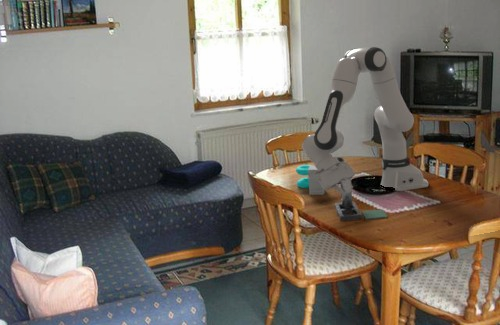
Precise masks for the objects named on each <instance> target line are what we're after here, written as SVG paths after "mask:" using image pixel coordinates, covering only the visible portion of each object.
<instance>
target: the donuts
mask: <svg viewBox="0 0 500 325" xmlns="http://www.w3.org/2000/svg"><path fill="white" fill-rule="evenodd" d="M309 166H313V164H312V165H311V164H302V165H299V166H297V167H296V169H295V171H296V173H297V174H298V175H300V176H308V169H309ZM296 186H297V187H298V188H300V189H309V177H301V178H300V179H298V180H297V182H296Z"/></svg>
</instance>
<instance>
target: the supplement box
mask: <svg viewBox="0 0 500 325" xmlns="http://www.w3.org/2000/svg"><path fill="white" fill-rule="evenodd" d="M317 171H318V169H317V168H316V167H315V165H312V166H309V169H308V175H307V176H308V177H307V178H309V188H308V189H309V193H308V194H309V195H311V196H315V195H317V196H318V195H319V196H321V195H322V196H323V195H325V193H326V190H324V189H323V188H322V187H321V185H320V183H319V182H318V180H317V178H316V176H315V173H316V172H317Z"/></svg>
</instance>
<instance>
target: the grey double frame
mask: <svg viewBox="0 0 500 325" xmlns="http://www.w3.org/2000/svg"><path fill="white" fill-rule="evenodd" d="M352 203H353V206H351V207H343V206H342V202H335V203H334V209H335V211H336V214H337V217H338V218H339V221H340V222H345V221H357V220H363V214H362V212H361V210H360V209H359V208H358V205H357V203H356V202H355V201H352Z"/></svg>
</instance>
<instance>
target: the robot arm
mask: <svg viewBox="0 0 500 325" xmlns="http://www.w3.org/2000/svg"><path fill="white" fill-rule="evenodd" d="M367 72H368V73H369V75H370V79H371V84H372V88H373V91H374V95H375V98H376V100H377V102H378V103H379V106H378V107H376V108H375V111H374V114H373V118H374V120H375V121H376V124H377V126H378V130H379V134H380V138H381V143H382V157H381V168H382V169H381V170H382V176H381V181H380V185H382V186H384V187H393V188H395V190H394V191H397V192H404V191H411V190H416V189H421V188H422V189H423V188H428V187H429V182H428V180H427V179H425V178H424V174H423V173H422V171H421V170H420V169H419V168H418V167H416V166H415V165H413V164H414V159H413V158H412V157H409V156H408V155H407V140H406V138H405V136H404V134H403V133H404V132H408V131H409V130H410V129H412V128H413V126H414V123H415V118H414V115H413V114H412V113H411V111H410V109H409V108H408V106H407V104H406V102H405V100H404V98H403V96H402V94H401V91H400V87H399V83H398V79H397V75H396V73H395V68H394V66H393V64H392V62H391V59H390V58H389V57H388V56H387V54H386V52H385V51H384V50H383V49H382V48H380V47H376V46H372V47H371V46H370V47H369V46H365V47H359V48H352V49H350V50H347V51H346V52H345V53H344V55H343V58H341V59H339V60H338V62H337V63H336V67H335V68H334V72H333V75H332V79H331V83H330V84H331V85H330V89H329V94H328V98H327V102H326V105H325V108H324V113H323V116H322V119H321V123H320V124H319V127H318V128H317V129H316V130H315V132H314V134H309V135H307V136H306V137H305V138H304V140H303V141H302V144H301V148H302V151H303V153H304V154H305V155H306V157H307V158H308V159H309V160H310V161H311V163H313V164H314V166H315V167H316V168H317V169H318V171H317V172H316V173H315V176H316V178H317V180H318V182H319V183H320V185H321V187H322V188H323V189H324V190H325V191H329V190H331V189H332V188H333V189H334V190H336V191H337V192H339V193H340V194H343V193H344V192H345V190H344V189H343V188H341V186H340V185H341V184H340V180H341V179H343V178H350V179H351V180H352V178H354V176H356V172H355V170H354V169H353V168H352V167H351V166H350V164H348V162H346V160H345V158H344V157H341V156H339V157H337V156H333V155H332V154H333V153H335V152H336V151H338V150H339V149H341V148H342V147H343V145H344V142H345V139H344V136H343V133H342V132H340V131H339V130H337V123H338V119H339V117H340V113H341V109H342V108H343V106H345V105H346V104H347V103H348V102H351V101H352V99H353V98H354V95H355V92H356V89H357V84H358V80H359V79H358V78H359V75H360V74H361V73H367ZM351 188H352V189H353V188H354V186H353V185H352V184H351Z"/></svg>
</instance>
